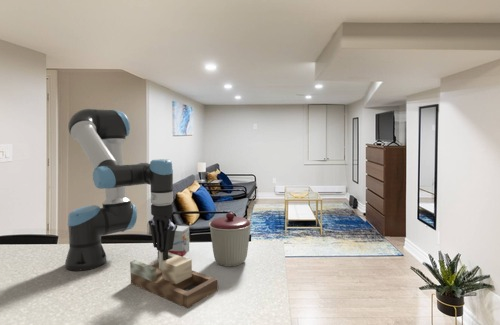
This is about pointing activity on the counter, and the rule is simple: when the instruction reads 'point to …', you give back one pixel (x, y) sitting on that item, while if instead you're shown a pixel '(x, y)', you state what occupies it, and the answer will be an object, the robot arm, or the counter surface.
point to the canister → (230, 239)
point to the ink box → (181, 241)
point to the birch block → (177, 269)
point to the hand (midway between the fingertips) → (163, 267)
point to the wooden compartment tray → (172, 284)
